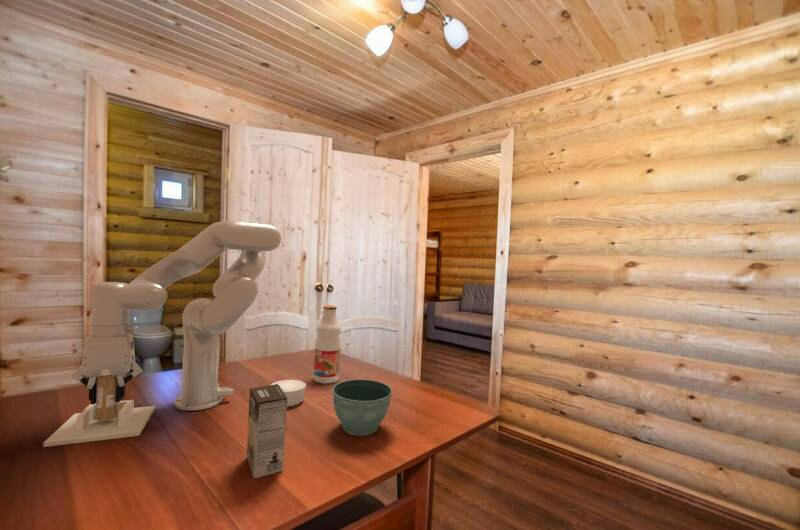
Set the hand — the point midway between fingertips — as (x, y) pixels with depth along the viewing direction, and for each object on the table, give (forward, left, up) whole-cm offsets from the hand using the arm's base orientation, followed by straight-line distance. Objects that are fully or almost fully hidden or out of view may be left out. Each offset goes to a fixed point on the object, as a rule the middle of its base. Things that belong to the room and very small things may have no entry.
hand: (107, 400), depth 92 cm
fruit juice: (-61, -21, -7) cm, 65 cm away
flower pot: (-62, +20, -7) cm, 65 cm away
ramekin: (-45, -4, -7) cm, 46 cm away
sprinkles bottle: (0, 0, -5) cm, 5 cm away
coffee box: (-37, +30, -7) cm, 48 cm away
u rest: (0, 0, -7) cm, 7 cm away
